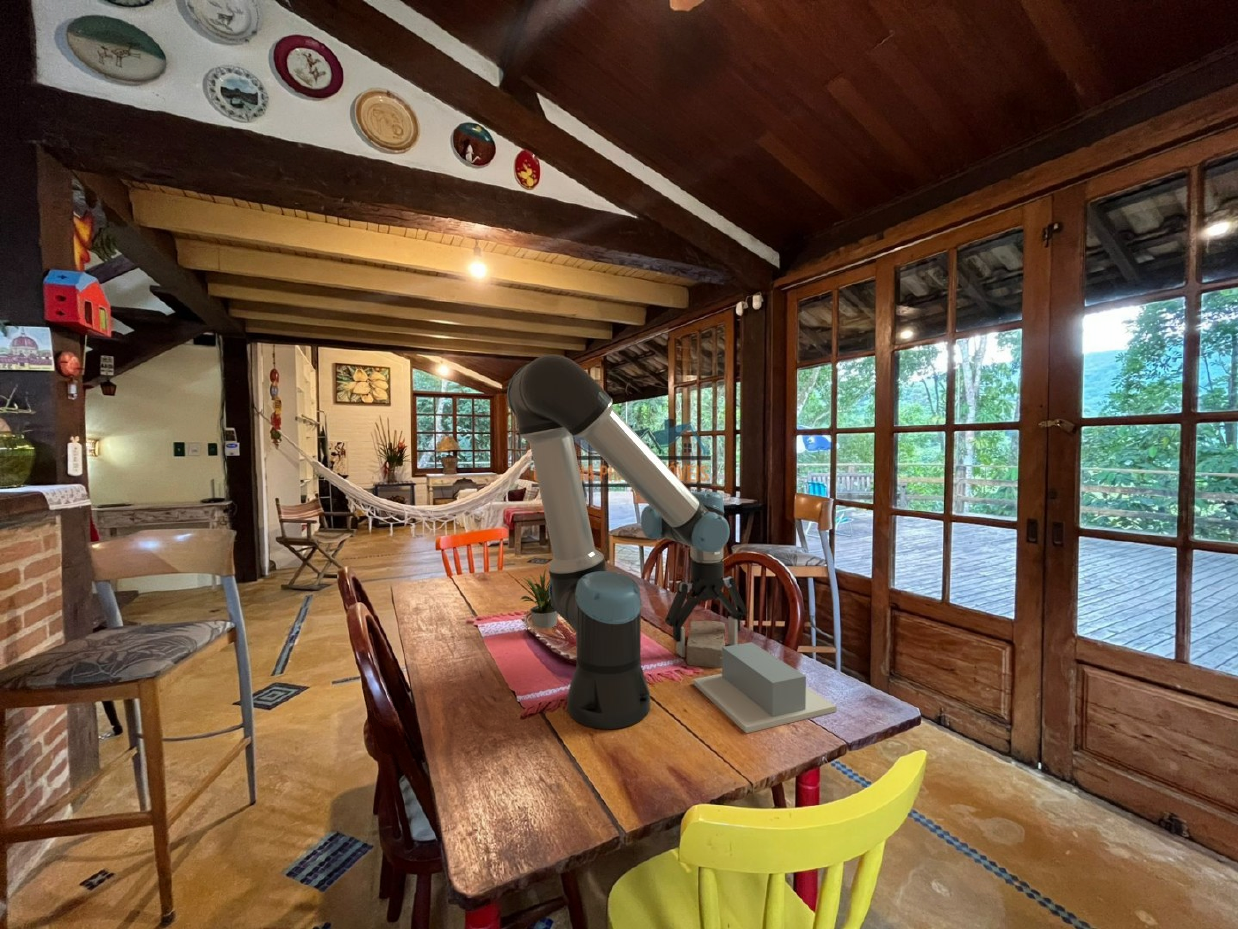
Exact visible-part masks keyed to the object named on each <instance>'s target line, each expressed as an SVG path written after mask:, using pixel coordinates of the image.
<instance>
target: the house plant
mask: <svg viewBox="0 0 1238 929" xmlns="http://www.w3.org/2000/svg"><path fill="white" fill-rule="evenodd" d="M546 572H547V568H545V570H544V572H543V575H542V574H541V573H540V574H539V578H540V580H539V581H540V584H539V583H538V582H537V581H536V578H535V577H534V576H532V575H530V574H529V576H530V577H532V579H533V580H534V583H533V581H531V579H530V578H529V577H527V576H525V577H523V579H524V580H525V581H524V583H525V584H526V585H527V586H528V588H527V589H530V591H531V592H532V593H533V595H534V597H535V600H534V599H533V598H532V597H530V596H528V595H524V596H522V597H521V598H520V600H519V601H521V600H523V601H522V603H523V602H533V603H534V604H535V605H534V606H532V607H531V608H530V610H529V611H530V616H531V617H530V618H531V623H532V627H533V626H536V627H539V628H546V629H547V628H552V627H554V626H556V627H557V624H558V617H559V614H558V613H557V612H556V611H555V609H554V607H553V605H552V603H551V600H550V597H549V583H550V580H551V579H549V580H548V582H547V584H546ZM517 580H519V581H521V579H520V578H517Z"/></svg>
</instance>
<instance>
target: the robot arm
mask: <svg viewBox="0 0 1238 929" xmlns="http://www.w3.org/2000/svg"><path fill="white" fill-rule="evenodd" d="M506 393H507V394H506V395H507V397H506V398H507V402H508V406H509V408H510V410H511V412H512V413H513V415H514V416H515V418H516V422H517V427H518V432H519V436H520V437H521V438H522V439H523V440H525V441H527V442H528V443H529V446H530V451H531V455H532V460H533V464H534V469H535V475H536V479H537V480H536V481H537V485H538V489H539V493H540V497H541V498H540V499H541V503H542V508H543V513H544V517H545V518H544V519H545V522H546V528H547V531H548V536H549V540H550V545H551V546H550V547H551V550H552V555H553V556H552V557H553V558H552V560H551V561H550V563H549V565H548V567H547V570H548V573H549V578H550V579H551V580H550V579H549V580H550V582H549V584H548V585H549V599H550V600H551V603H552V604H551V605H553V607H554V609H555V611H556V612H557V613H558V616H560V617H561V618H562V619H563V620H564V621H565V622H566V623H567V624H568V625H569V626H570V627H571V628H572V629H573V630H574V632H575V633H576V667H575V669H574V673H573V676H572V679H571V681H570V682H571V683H570V686H569V688H568V693H567V695H566V696H567V697H566V700H567V702H566V703H567V705H566V707H567V712H568V714H569V716H570V717H571V719H573V720H574V721H576V722H577V723H578V724H581V725H584V726H586V727H590V728H593V729H600V730H601V729H602V730H604V729H605V730H612V729H613V730H614V729H621V728H626V727H629V726H633V725H635V724H637V723H639V722H641V721H642V720H643V719H645V718H646V717H647V716H648V714H649V713H650V711H651V692H650V690H649V687H648V684H647V683H648V682H647V680H646V678H645V674H644V671H643V668H642V663H641V652H642V651H641V650H642V649H641V648H642V647H641V639H642V638H641V636H642V635H641V634H642V632H641V630H642V627H641V624H642V623H641V621H642V617H641V616H642V615H641V614H642V613H641V612H642V599H641V592H640V591H641V590H640V586H639V583H637V581H636V580H635V579H634V578H632V577H630V576H629V575H627V574H624V573H618V572H616V571H611V570H610V571H609V570H607V565H606V559H605V556H604V555H605V554H603V553H602V552H601V551H599V550H597V549H596V547H595V541H594V537H593V533H592V527H591V524H590V518H589V512H588V507H587V502H586V497H585V491H584V487H583V482H582V478H581V472H580V466H579V461H578V458H577V452H576V447H575V442H574V441H575V440H574V438H582V439H583V440H584V441H585V442H586V443H587V444H588V445H589V446H590V447H591V448H592V449H593V450H594V451H595V452H596V453H597V454H598V455H599V456H600V457H601V458H602V459H603V460H604V461H605V462H606V463H607V464H608V465H609V466H610V467H611V468H612V469H613V470H614V471H615V472H616V473H617V474H618V475H619V476H620V477H621V478H622V479H623V480H624V481H625V483H627V484H628V485H629V486H630V487H631V489H633V490H634V491H635V492H636V493H637V494H638V495H639V496H640V497H641V498H642V499H643V500H644V501H645V503H647V504H648V505H646V506H645V507H644V508H643V510H642V512H641V515H640V526H641V531H642V533H643V535H644V536H645V538H647V539H649V540H659V541H661V540H663V539H664V540H665V539H668V540H671V541H674V542H676V543H680V544H682V545H685V546H688V547H690V548H689V549H690V553H689V554H690V558H691V560H690V578H691V580H690V582H683V581H679V582H678V584H677V591H676V594H675V596H674V599H673V601H672V603H671V605H670V607H669V609H668V611H667V612H668V613H667V614H666V617H665V619H664V622H665V624H667V625H668V626H670V627H671V628H672V632H673V635H672V638H673V640H674V641H675V642H676V653H677V655H679V656H680V657H681V658H685V657H686V629H685V627H684V626H683V625H684V624H685V622H686V621H687V620H688V619H689V616H690V615H691V614H692V612H693V611H694V610H695V608H696V607H697V605H699V604H700V603H701V602H707V601H710V600H711V601H715V600H716V599H717V600H718V601H719V602H720V603H721V604H722V606H723V607H724V608H725V610H727V611H728V613H729V614H730V615H729V616H728V628H727V629H728V635H727V636H728V637H727V638H728V640H727V641H728V642H727V643H728V644H729V646H732V645H738V644H739V643H738V640H739V638H738V635H739V634H738V632H740V630H741V621H742V620H744V616H747V615H748V614H749V612H748V610H747V608H746V605H745V603H744V601H743V599H742V597H741V596H742V595H740V592H739V590H738V588H737V582H736V579H735V577H734V578H733V577H732V576H729V575H726V576H725V577H724V574H725V567H724V566H725V565H724V564H725V562H724V560H723V559H724V547H725V546H726V545H727V543H728V541H729V538H730V530H731V529H730V525H729V522H728V520H727V519H726V518H725V510H724V509H725V508H724V505H725V504H724V497H723V495H722V494H721V493H719V492H716V491H696V492H691V490H690V489H689V488H688V487H687V486H685V484H684V483H683V482H682V481H681V480H680V479H679V478H678V477H677V476H676V475H675V474H674V472H673V471H672V470H671V469H670V468H669V467H668V466H667V464H666V463H664V462H663V460H662V459H660V457H659V456H658V455H657V454H656V453H655V452H654V451H653V450H652V449H651V448H650V447H649V446H648V445H647V443H646V442H645V441H644V440H643V439H642V438H641V437H640V436H639V434H637V433H636V431H634V429H633V428H632V427H631V426H630V425H629V424H628V423H627V422H626V421H625V419H624V418H622V416H621V415H620V414H619V413H618V411H616V410H615V409H614V407H613V398H612V397H611V396H610V394H608V392H606V391H605V390H604V388H603V387H602V386H601V385H600V384H599V383H598V382H597V381H596V380H595V379H594V378H593V376H591V375H590V374H589V372H587V370H585V369H584V368H583V367H581V366H580V365H579V364H578V363H577V362H575V361H574V360H572V359H570V358H569V357H566V356H564V355H560V354H547V355H542V356H539V357H537V358H535V359H534V360H533V361H531V362H530V363H528V364H525V365H523V366H522V367H520V368H518V370H517V371H516V372H515V373H514V374H513V376H512V378H511V379H510V381H509V383H508V386H507V392H506ZM724 587H726V589H727V591H728V593H729V595H730V598H731V600H732V602H733V603H731V600H729V598H728V597H727V596H726V594H725V593H724V592H723V591H722V590H723V588H724ZM690 590H691V592H690ZM688 593H689V594H688ZM687 595H688V596H687ZM686 598H687V599H686ZM733 604H734V605H735V606H734V605H733Z"/></svg>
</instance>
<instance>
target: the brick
mask: <svg viewBox="0 0 1238 929" xmlns="http://www.w3.org/2000/svg"><path fill="white" fill-rule="evenodd" d="M689 623H690V624H689V633H688V637H687V642H686V664H687V665H689V666H693V665H694V667H708V668H713V669H722V647H726V641H725V640H726V626H725V625H726V624H725V622H723V621H722V622H721V621H717V620H715V621H714V620H713V621H712V620H703V621H702V620H698V621H696V620H691V621H690V622H689Z"/></svg>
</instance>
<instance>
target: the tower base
mask: <svg viewBox="0 0 1238 929" xmlns="http://www.w3.org/2000/svg"><path fill="white" fill-rule="evenodd" d="M692 680H693V681H692V684H693V685H694V686H695V687H696V688H697V689H698V690H699V691H700V692H701V693H702V694H703V695H704V696H706V697H707V698H708V699H709V701H711V702H712V703H713V704H714V705H715V706H716V707H717V708H718V709H719V710H720V711H721V712H723V713H724V715H726V716H727V717H728V718H729V719H730V720H731V721H733V723H735V725H737V726H738V727H739V728H740V729H741V730H742V731H743V732H745V734H749V733H753V732H757V731H761V730H765V729H770V728H774V727H777V726H782V725H786V724H790V723H794V722H799V721H803V720H807V719H811V718H814V717H820V716H823V715H827V714H832V713H836V712H837V707H838V706H837V705H836V704H834V703H833V702H831V701H830V700H828V699H826V698H825V697H824V696H822V695H821V694H819V693H817V692H816V691H814V690H813V689H811V688H810V687H808V686H807V676H806V675H805V674H803V673H801V672H800V671H799V670H797V669H795V668H794V667H792V666H790V665H789V664H787V663H786V662H784V661H782V659H779V658H778V657H776V656H775V655H773V654H771V652H770V653H769V652H768V651H766V650H765V649H764V648H761V647H760V646H759V645H757V644H756V643H754V642H752V641H751V642H746V643H738V645H725V647H722V668H721V673H719V674H713V675H708V676H703V677H697V678H693V679H692Z"/></svg>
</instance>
